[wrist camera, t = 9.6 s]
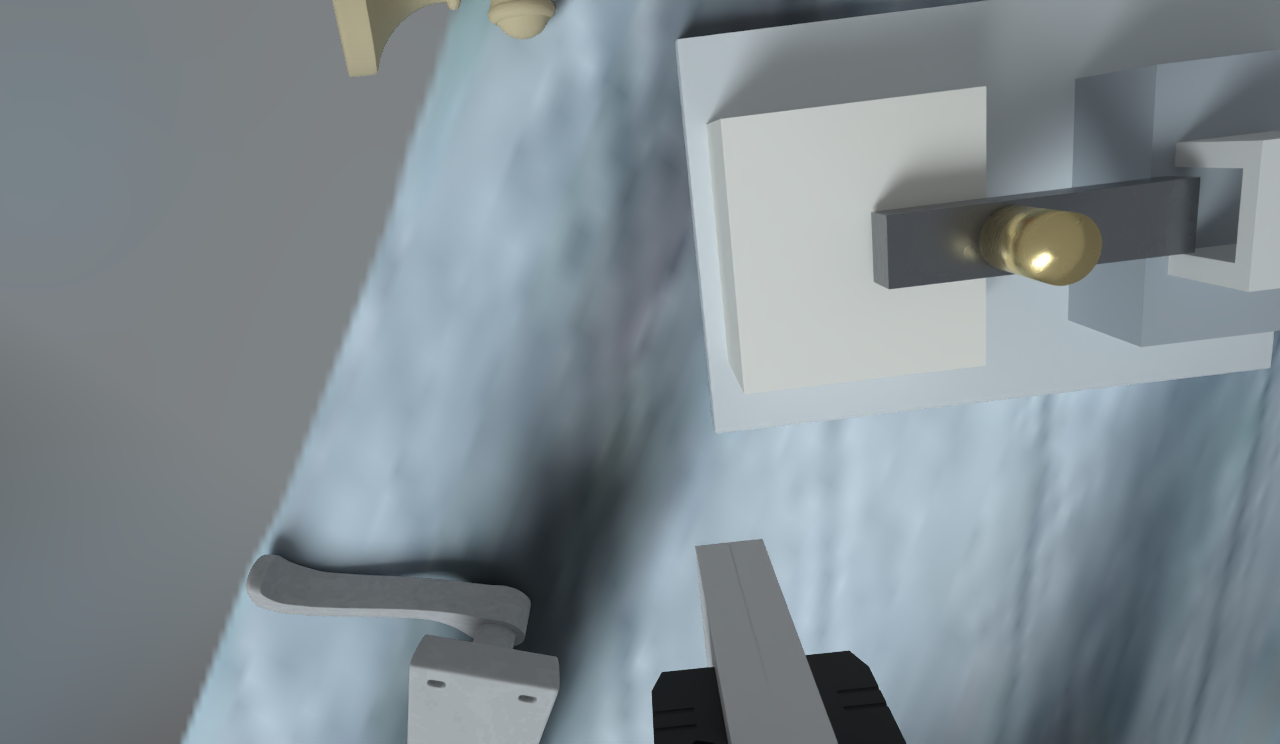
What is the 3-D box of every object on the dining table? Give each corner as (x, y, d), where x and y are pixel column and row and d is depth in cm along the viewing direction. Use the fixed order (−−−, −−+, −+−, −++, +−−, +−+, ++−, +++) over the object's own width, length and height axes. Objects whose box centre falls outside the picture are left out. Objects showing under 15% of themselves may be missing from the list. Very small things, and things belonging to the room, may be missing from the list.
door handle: (534, 687, 55) (582, 539, 41) (513, 812, 49) (559, 691, 35) (282, 644, 53) (240, 474, 39) (229, 770, 48) (158, 624, 33)
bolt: (1162, 246, 34) (1273, 266, 28) (873, 281, 34) (924, 307, 28) (1166, 175, 33) (1282, 179, 27) (871, 211, 33) (923, 224, 27)
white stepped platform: (1248, 360, 43) (1479, 436, 32) (712, 424, 44) (744, 522, 32) (1286, -34, 38) (1581, -118, 26) (675, 43, 38) (696, -6, 27)
